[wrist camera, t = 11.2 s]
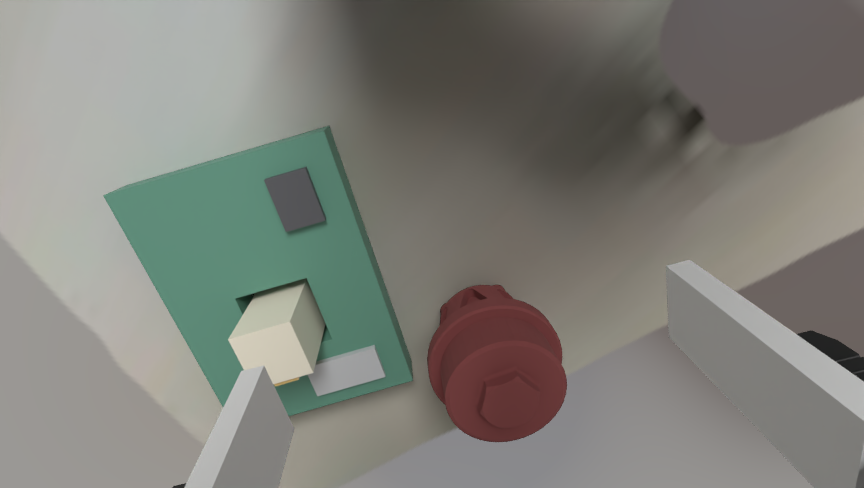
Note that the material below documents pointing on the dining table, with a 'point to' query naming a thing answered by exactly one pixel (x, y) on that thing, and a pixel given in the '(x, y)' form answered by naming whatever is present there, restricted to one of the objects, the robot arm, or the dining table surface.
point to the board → (268, 262)
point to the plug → (280, 332)
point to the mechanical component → (496, 365)
